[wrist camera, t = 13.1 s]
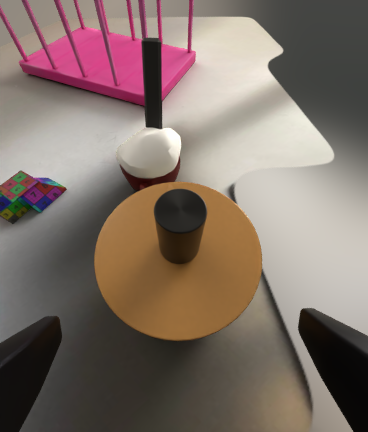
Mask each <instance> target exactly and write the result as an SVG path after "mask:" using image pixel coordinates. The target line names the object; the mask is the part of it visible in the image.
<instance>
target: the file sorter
mask: <svg viewBox="0 0 368 432" xmlns="http://www.w3.org/2000/svg"><path fill="white" fill-rule="evenodd" d="M126 1H127V7H128V15H129V22H130V28H131V35H132V37H129V36H124V35H119V34H115V33H110V32H109V29H108V24H107V20H106V15H105V11H104V6H103V2H102V0H94V2H95V6H96V11H97V15H98V19H99V23H100V27H101V30H97V29H92V28H88V27H85V26H84V23H83V19H82V16H81V12H80V9H79V5H78V1H77V0H74V3H75V7H76V10H77V14H78V17H79V21H80V24H81V27H80V28H78V29H76V30H75V31H73V32H71V30H70V27H69V24H68V21H67V19H66V16H65V13H64V10H63V8H62V5H61V2H60V0H54V2H55V4H56V7H57V10H58V12H59V15H60V18H61V20H62V23H63V26H64V28H65V31H66V34H67V35H66V36H64V37H62V38H60V39H58V40H56V41H55V42H53V43H51V44H49V45H47V44H46V42H45V39H44V37H43V35H42V33H41V30H40V28H39V26H38V23H37V21H36V19H35V17H34V14H33V12H32V10H31V7H30V5H29V3H28V1H27V0H22V2H23V5H24V7H25V9H26V11H27V13H28V15H29V18H30V20H31V22H32V24H33V26H34V29H35V31H36V33H37V35H38V37H39V40H40V42H41V44H42V46H43V48H42V49H40V50H38V51H37V52H35V53H33V54H31V55H30V56H28V57H27V56H26V54H25V52H24V50H23V49H22V47H21V45H20V43H19V41H18V39H17V37H16V35H15V33H14V31H13V30H12V27H11V25H10V23H9V22H8V20H7V18H6V16H5V14H4V12H3V10H2V8H1V6H0V16H1V18H2V20H3V22H4V24H5V25H6V28H7V29H8V31H9V33H10V35H11V37H12V39H13V41H14V43H15V45H16V46H17V48H18V50H19V52H20V54H21V56H22V57H23V59H22V60H21V61H19V64H20V66H21V68H22V70H23V71H24V72H25V73H28V74H32V75H36V76H39V77H43V78H47V79H50V80H54V81H57V82H61V83H65V84H68V85H72V86H75V87H79V88H83V89H86V90H90V91H93V92H97V93H100V94H104V95H108V96H111V97H115V98H118V99H122V100H125V101H129V102H132V103H136V104H139V105H143V106H145V102H144V83H143V63H142V44H141V41H142V39H143V38H148V35H147V24H146V16H145V4H144V0H138V1H139V12H140V21H141V30H142V39H137V38H135V32H134V24H133V17H132V9H131V2H130V0H126ZM193 1H194V0H189V24H188V49H183V48H178V47H173V46H169V45H165V44H162V21H161V0H157V13H158V33H159V40H160V41H161V58H162V100H163V99H164V98H165V97H166V96H167V94H168V93H169V92H170V91H171V90H172V88H173V87H174V86H175V85H176V84H177V82H178V81H179V80H180V79H181V78H182V76H183V75H184V74H185V73H186V72H187V70H188V69H189V68H190V67H191V66H192V64H193V63H194V62H195V55H196V52H195V51H192V50H191V41H192V21H193Z"/></svg>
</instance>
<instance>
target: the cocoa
mask: <svg viewBox="0 0 368 432" xmlns="http://www.w3.org/2000/svg"><path fill="white" fill-rule="evenodd" d="M141 44H142V63H143V83H144V102H145V121H146V128H144V129H142V130H140V131H139V132H137V133H136V134H135V135H133V136H132V137H130V138H129V139H128V140H127V141H125V142H124V143H123V144H122V145H120V146H119V147H118V148H117V151H116V158H117V161H118V162H119V163H120V167H121V170H122V172H123V174H124V176H125V177H126V179H127V180H128V182H129V183H130V185H131V186H132V187H133V189H135V190H137V191H140V190H143V189H145V188H147V187H150V186H153V185H157V184H162V183H169V182H175V180H176V178H177V175H178V172H179V169H180V157H179V154H180V149H181V141H180V136H179V135H178V134H177V133H176V132H175V131H174V130H172V129H171V128H164V129H162V58H161V41H160V40H159V38H143V40H142V41H141Z"/></svg>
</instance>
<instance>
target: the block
mask: <svg viewBox="0 0 368 432" xmlns="http://www.w3.org/2000/svg"><path fill="white" fill-rule="evenodd" d="M65 190H67V189H66V188H65V187H63V186H62V185H60V184H58V183H56V182H55V181H53V180H51V179H49V178H33V177H32V176H30V175H28V174H26V173H25V172H23V171H19V172H18V173H17V174H15V175H14V176H13V177H11V178H10V179H9V180H7V181H6V182H4V183H3V184H2V185H0V216H2V217H3V218H5V219H6V220H8V221H9V222H11V223H12V224H13V223H14V222H16V221H17V220H18V219H19V218H20V217H21V216H23V215H24V214H25V213H26V212H27V211H28V210H29V209H31V208H33V209H34V210H36V211H38V212H39V213H41V212H42V211H43V210H44V209H45V208H46V207H48V206H49V205H50V204H51V203H52V202H53V201H54V200H55V199H56V198H58V197H59V196H60V195H61V194H62V193H63V192H64V191H65Z"/></svg>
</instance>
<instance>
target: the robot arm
mask: <svg viewBox="0 0 368 432" xmlns="http://www.w3.org/2000/svg"><path fill="white" fill-rule="evenodd" d="M298 330H299V333H300V336H301V338H302V340H303V342H304V344H305V346H306V348H307V350H308V352H309V354H310V356H311V358H312V360H313V362H314V364H315V366H316V368H317V370H318V372H319V374H320V376H321V378H322V379H323V381H324V383H325V385H326V386H327V388H328V390H329V392H330V393H331V395H332V396H333V398H334V400H335V402H336V403H337V405H338V407H339V408H340V410H341V412H342V413H343V415H344V417H345V418H346V420H347V422H348V423H349V425H350V427H351V428H352V430H353V432H368V336H367V335H365V334H363V333H361V332H359V331H357V330H355V329H353V328H351V327H349V326H347V325H345V324H343V323H341V322H339V321H337V320H335V319H333V318H331V317H329V316H327V315H325V314H323V313H321V312H319V311H317V310H315V309H312V308H305V309H302V310H301V312H300V318H299V325H298ZM61 340H62V332H61V326H60V320H59V317H57V316H47V317H44V318H42V319H41V320H39V321H37V322H35V323H34V324H32V325H30V326H29V327H27V328H25V329H24V330H22V331H20V332H18V333H17V334H15V335H13V336H12V337H10V338H8V339H6V340H5V341H3V342H1V343H0V432H19V431H20V429H21V427H22V425H23V423H24V421H25V419H26V417H27V415H28V414H29V412H30V410H31V408H32V406H33V404H34V402H35V400H36V398H37V396H38V394H39V392H40V390H41V388H42V386H43V384H44V381H45V379H46V377H47V374H48V372H49V369H50V367H51V365H52V362H53V360H54V358H55V355H56V353H57V350H58V348H59V346H60V343H61Z"/></svg>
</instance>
